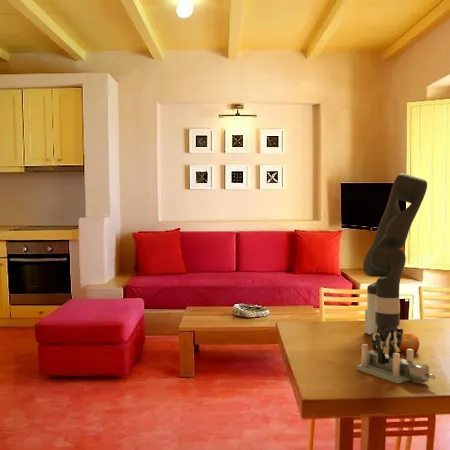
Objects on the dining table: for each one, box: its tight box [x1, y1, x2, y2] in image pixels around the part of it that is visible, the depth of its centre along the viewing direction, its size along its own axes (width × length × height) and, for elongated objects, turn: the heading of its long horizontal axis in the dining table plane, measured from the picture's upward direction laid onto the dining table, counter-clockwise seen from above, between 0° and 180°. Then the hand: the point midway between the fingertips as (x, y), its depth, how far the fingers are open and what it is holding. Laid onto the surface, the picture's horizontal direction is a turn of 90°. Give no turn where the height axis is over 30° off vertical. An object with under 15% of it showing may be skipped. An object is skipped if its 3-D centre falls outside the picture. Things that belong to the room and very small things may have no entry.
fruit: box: [397, 332, 420, 355], centre depth 184 cm, size 8×8×8 cm
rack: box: [356, 341, 414, 385], centre depth 162 cm, size 16×10×8 cm, turn 35°
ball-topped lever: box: [368, 349, 436, 383], centre depth 158 cm, size 24×6×4 cm, turn 35°
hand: (386, 362), depth 162 cm, fingers open, 4 cm apart
